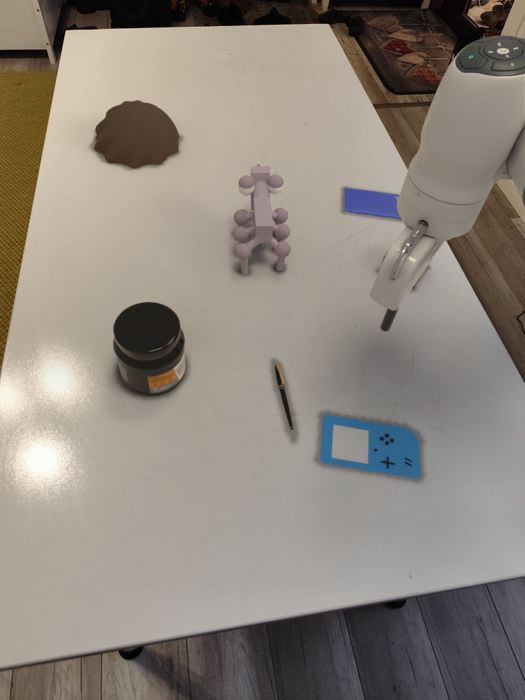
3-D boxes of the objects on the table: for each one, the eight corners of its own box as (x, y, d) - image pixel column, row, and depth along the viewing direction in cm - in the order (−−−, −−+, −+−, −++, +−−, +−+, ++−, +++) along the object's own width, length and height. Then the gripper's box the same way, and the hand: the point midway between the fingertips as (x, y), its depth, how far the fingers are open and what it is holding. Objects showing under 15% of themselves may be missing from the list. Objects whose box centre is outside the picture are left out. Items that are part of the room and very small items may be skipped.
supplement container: (197, 384, 84) (196, 339, 74) (135, 410, 80) (125, 366, 70) (170, 337, 89) (166, 289, 79) (111, 359, 85) (98, 312, 75)
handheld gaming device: (421, 478, 76) (319, 461, 76) (418, 481, 77) (318, 465, 77) (419, 428, 81) (323, 413, 81) (416, 431, 82) (322, 416, 82)
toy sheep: (230, 209, 110) (233, 152, 99) (280, 210, 111) (288, 154, 100) (233, 278, 98) (236, 222, 87) (289, 279, 99) (299, 223, 88)
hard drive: (400, 193, 115) (345, 186, 115) (402, 217, 110) (344, 210, 110) (398, 199, 116) (343, 192, 116) (400, 223, 111) (343, 215, 111)
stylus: (391, 327, 76) (419, 263, 66) (387, 333, 76) (414, 270, 65) (382, 322, 77) (408, 258, 66) (378, 328, 76) (404, 265, 65)
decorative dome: (156, 115, 128) (153, 74, 120) (195, 158, 119) (194, 116, 111) (81, 134, 121) (71, 92, 113) (116, 181, 112) (109, 139, 104)
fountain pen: (297, 441, 79) (298, 437, 78) (289, 442, 79) (291, 438, 78) (278, 364, 87) (279, 359, 86) (271, 365, 87) (272, 360, 86)
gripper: (429, 266, 51) (391, 348, 62) (495, 168, 62) (453, 253, 73) (373, 239, 53) (346, 323, 64) (446, 149, 64) (412, 235, 75)
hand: (403, 285), depth 69 cm, fingers closed on stylus, 1 cm apart
